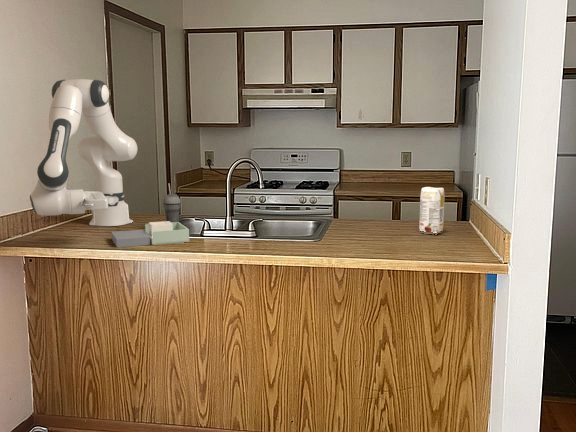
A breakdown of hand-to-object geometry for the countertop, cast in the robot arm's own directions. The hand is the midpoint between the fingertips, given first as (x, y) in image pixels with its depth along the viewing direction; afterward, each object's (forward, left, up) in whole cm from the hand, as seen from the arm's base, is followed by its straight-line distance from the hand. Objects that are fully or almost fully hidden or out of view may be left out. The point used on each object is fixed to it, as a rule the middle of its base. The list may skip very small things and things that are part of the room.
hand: (118, 199), depth 220 cm
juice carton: (+30, +120, -17) cm, 125 cm away
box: (0, +17, -17) cm, 24 cm away
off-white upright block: (0, +11, -13) cm, 17 cm away
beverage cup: (-18, +24, -17) cm, 34 cm away
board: (0, +4, -17) cm, 17 cm away
